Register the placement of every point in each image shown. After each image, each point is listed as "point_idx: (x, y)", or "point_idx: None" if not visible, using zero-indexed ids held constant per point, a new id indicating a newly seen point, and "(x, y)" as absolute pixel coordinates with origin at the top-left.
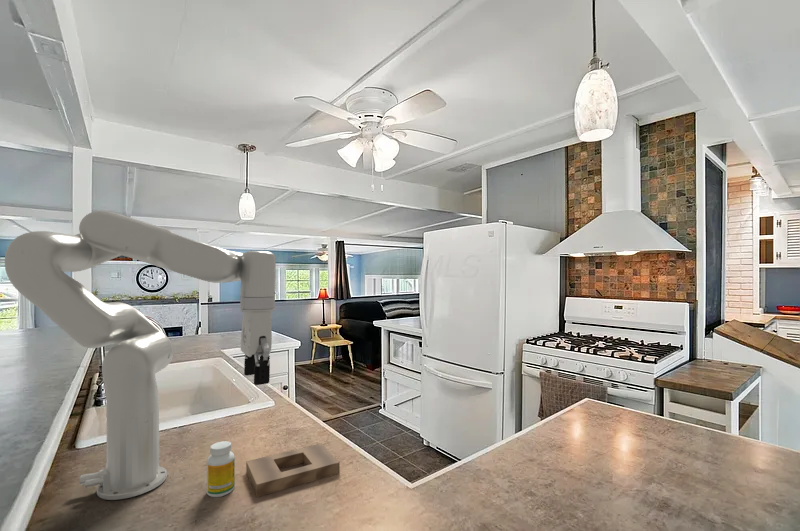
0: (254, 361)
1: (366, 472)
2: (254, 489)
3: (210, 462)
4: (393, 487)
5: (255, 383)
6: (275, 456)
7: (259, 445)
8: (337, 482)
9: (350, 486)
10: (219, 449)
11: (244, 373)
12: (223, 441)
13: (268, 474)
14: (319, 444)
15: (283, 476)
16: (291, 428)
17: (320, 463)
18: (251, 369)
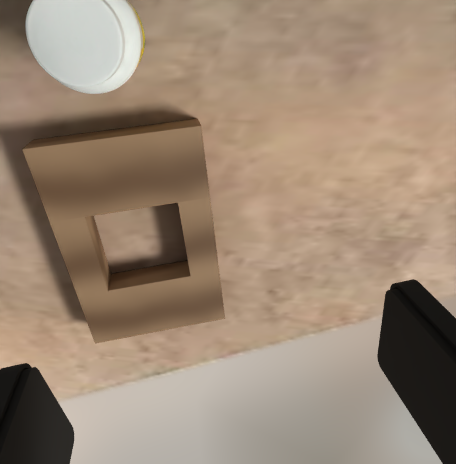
0: (452, 446)
1: (85, 368)
2: (67, 136)
3: None
4: None
5: (2, 379)
6: (196, 209)
7: (358, 163)
8: (56, 316)
9: (29, 335)
10: (26, 30)
11: (412, 286)
12: (116, 52)
13: (80, 184)
14: (220, 314)
15: (55, 221)
16: (414, 250)
17: (104, 307)
18: (406, 358)
